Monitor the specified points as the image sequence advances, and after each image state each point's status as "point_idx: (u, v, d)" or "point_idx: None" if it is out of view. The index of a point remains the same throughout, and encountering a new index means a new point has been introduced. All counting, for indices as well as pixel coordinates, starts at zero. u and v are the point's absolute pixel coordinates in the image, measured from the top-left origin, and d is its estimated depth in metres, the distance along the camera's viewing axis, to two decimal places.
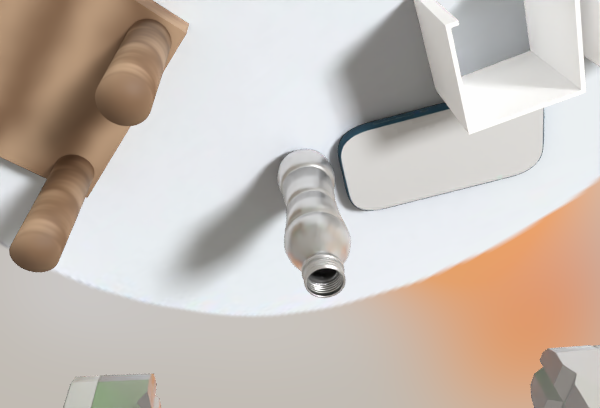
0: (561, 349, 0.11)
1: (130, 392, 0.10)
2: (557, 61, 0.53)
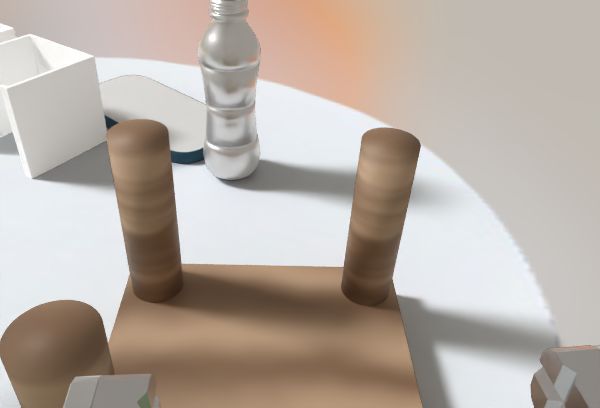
0: (561, 349, 0.11)
1: (130, 392, 0.10)
2: (30, 73, 0.68)
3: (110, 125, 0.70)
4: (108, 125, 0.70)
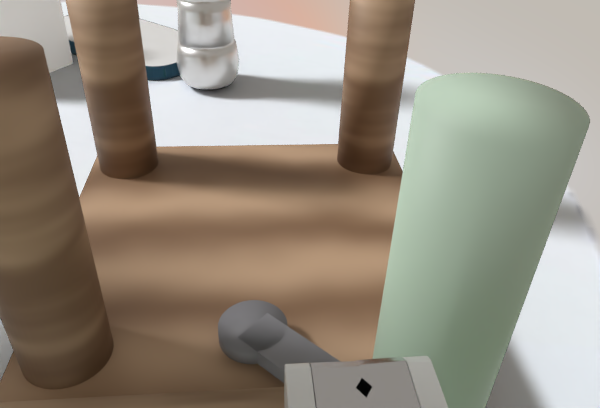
0: (368, 361, 0.11)
1: (346, 378, 0.10)
2: None
3: (74, 50, 0.64)
4: (72, 51, 0.65)
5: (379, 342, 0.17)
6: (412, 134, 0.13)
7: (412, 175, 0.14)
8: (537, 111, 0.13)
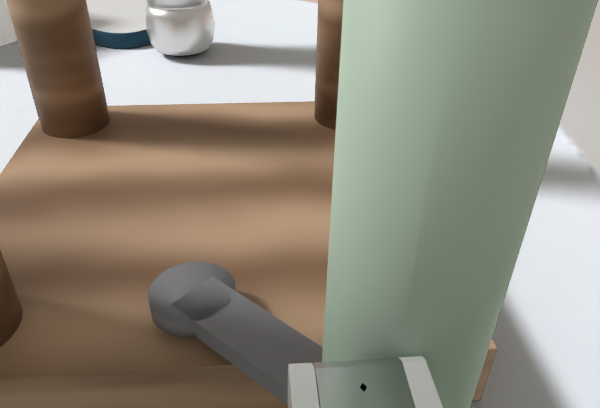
0: (363, 361, 0.11)
1: (350, 378, 0.10)
2: None
3: None
4: None
5: (328, 288, 0.13)
6: None
7: None
8: None
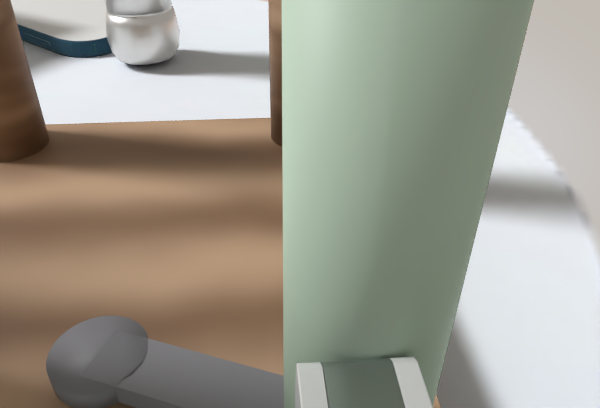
0: (354, 362, 0.11)
1: (358, 377, 0.10)
2: None
3: None
4: None
5: (294, 315, 0.12)
6: None
7: (308, 14, 0.08)
8: None
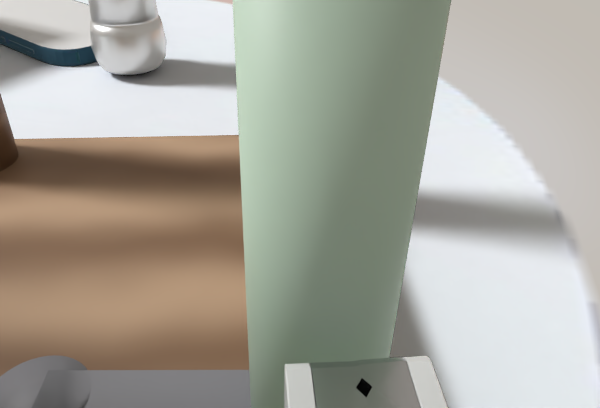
0: (368, 361, 0.11)
1: (346, 378, 0.10)
2: None
3: None
4: None
5: (269, 300, 0.13)
6: None
7: (278, 16, 0.09)
8: None
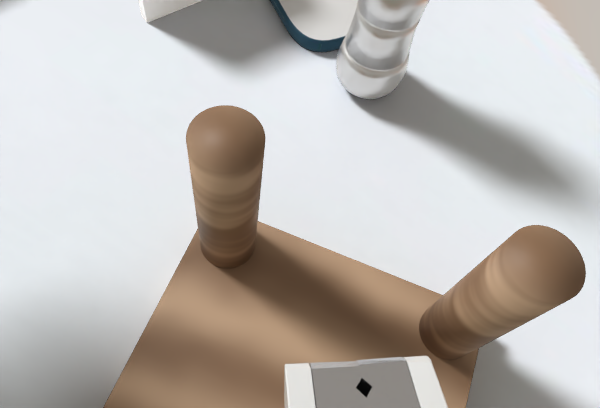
0: (367, 361, 0.11)
1: (346, 378, 0.10)
2: None
3: None
4: None
5: None
6: None
7: None
8: None
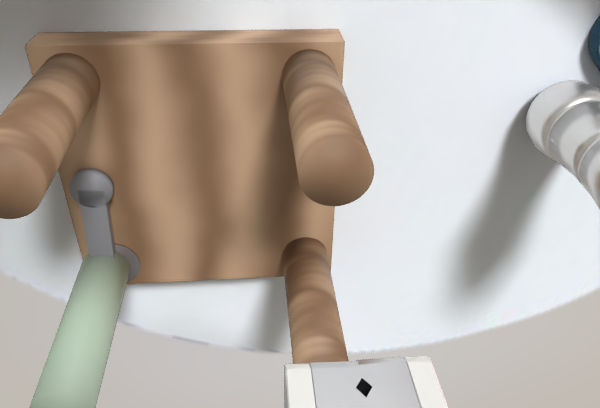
0: (368, 361, 0.11)
1: (346, 378, 0.10)
2: None
3: None
4: None
5: (67, 308, 0.42)
6: (39, 388, 0.36)
7: (40, 379, 0.37)
8: None
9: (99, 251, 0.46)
